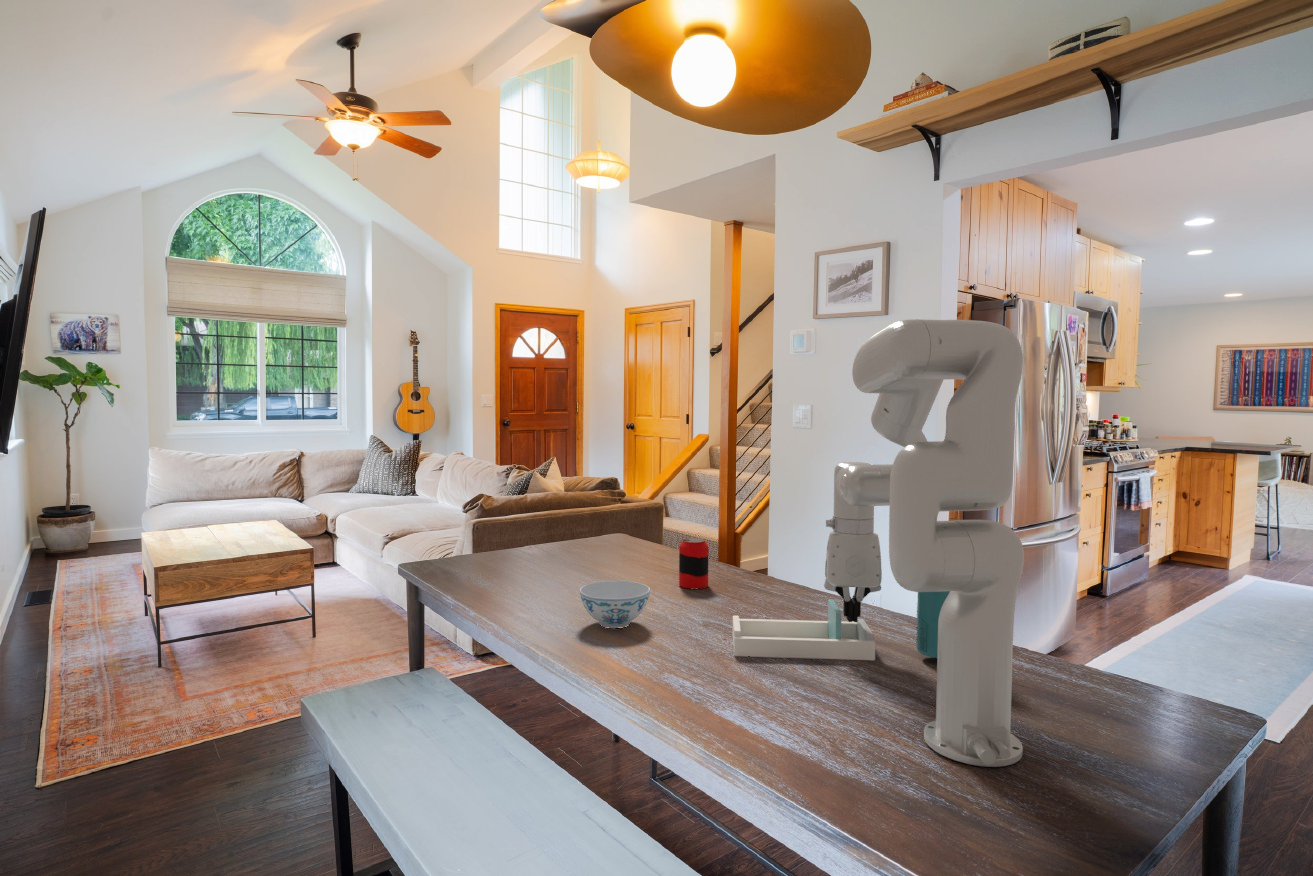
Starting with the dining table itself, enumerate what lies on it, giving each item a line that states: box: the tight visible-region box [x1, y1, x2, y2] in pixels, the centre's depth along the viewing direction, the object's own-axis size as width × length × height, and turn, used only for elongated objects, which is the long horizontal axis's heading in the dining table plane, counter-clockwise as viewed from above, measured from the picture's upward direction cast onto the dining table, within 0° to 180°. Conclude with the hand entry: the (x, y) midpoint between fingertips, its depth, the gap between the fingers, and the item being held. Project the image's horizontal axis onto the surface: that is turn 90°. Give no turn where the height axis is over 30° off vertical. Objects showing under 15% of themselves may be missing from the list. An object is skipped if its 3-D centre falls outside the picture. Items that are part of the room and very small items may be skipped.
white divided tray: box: [731, 615, 876, 661], centre depth 140 cm, size 12×26×4 cm, turn 86°
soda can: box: [678, 537, 709, 589], centre depth 187 cm, size 8×8×12 cm
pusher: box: [827, 598, 842, 639], centre depth 140 cm, size 9×1×8 cm, turn 176°
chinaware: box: [579, 579, 651, 628], centre depth 154 cm, size 15×15×8 cm
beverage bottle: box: [915, 591, 950, 659], centre depth 133 cm, size 6×7×20 cm
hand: (851, 620), depth 139 cm, fingers closed
